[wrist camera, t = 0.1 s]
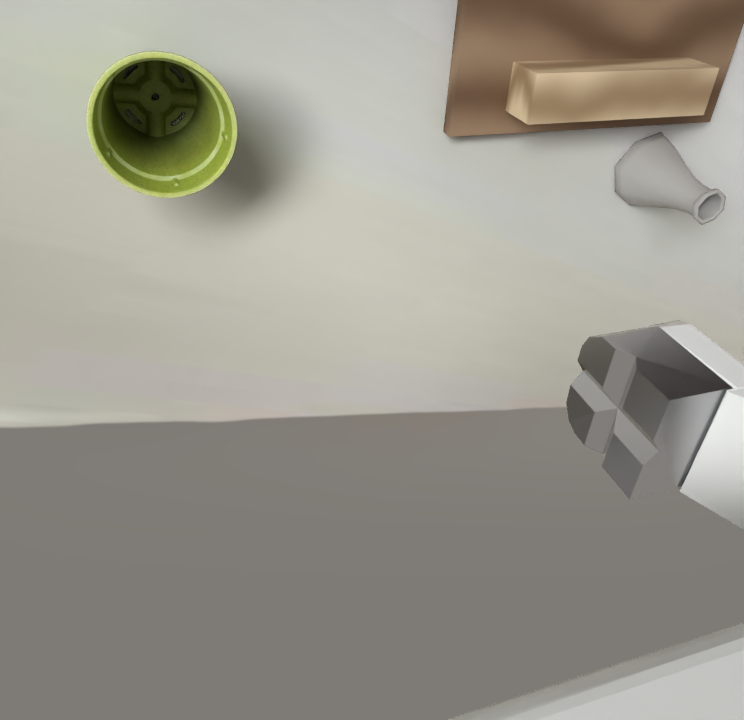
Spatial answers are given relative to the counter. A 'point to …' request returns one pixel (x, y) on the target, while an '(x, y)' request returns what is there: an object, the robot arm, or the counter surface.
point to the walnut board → (576, 50)
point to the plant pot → (161, 125)
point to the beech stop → (609, 89)
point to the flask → (664, 181)
